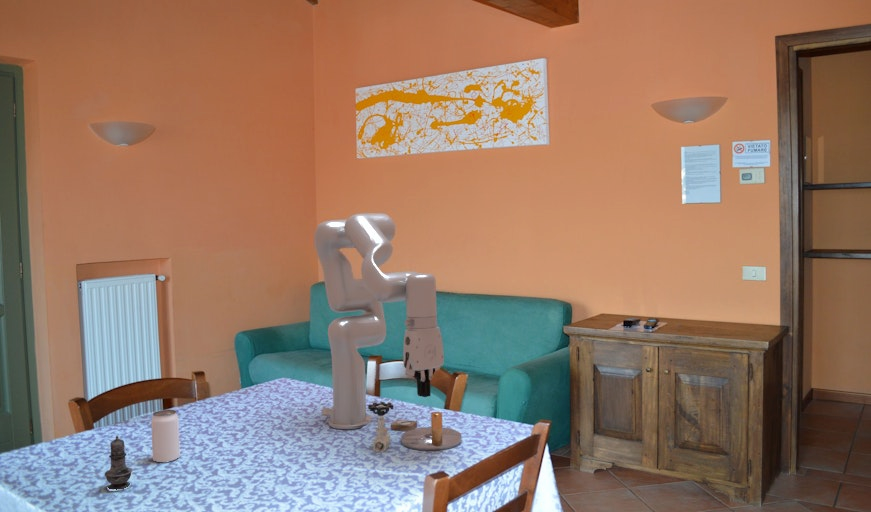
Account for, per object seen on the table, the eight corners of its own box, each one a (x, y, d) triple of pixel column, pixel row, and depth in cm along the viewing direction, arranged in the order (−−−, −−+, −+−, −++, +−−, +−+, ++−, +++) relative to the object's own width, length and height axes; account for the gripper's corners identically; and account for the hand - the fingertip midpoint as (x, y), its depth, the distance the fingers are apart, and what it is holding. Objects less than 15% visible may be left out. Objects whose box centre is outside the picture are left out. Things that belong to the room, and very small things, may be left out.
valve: (396, 446, 189) (395, 401, 189) (392, 454, 183) (391, 408, 182) (371, 446, 190) (370, 401, 189) (366, 454, 183) (365, 408, 183)
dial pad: (391, 432, 201) (390, 423, 201) (397, 427, 206) (397, 418, 206) (411, 434, 199) (411, 425, 199) (417, 429, 204) (416, 420, 204)
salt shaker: (110, 482, 167) (108, 432, 166) (136, 481, 167) (134, 431, 166) (100, 492, 161) (98, 440, 160) (128, 491, 161) (125, 438, 160)
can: (185, 456, 185) (183, 410, 184) (168, 464, 178) (166, 416, 178) (164, 453, 187) (162, 408, 186) (147, 461, 181) (145, 415, 180)
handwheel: (392, 448, 185) (391, 412, 185) (412, 430, 201) (412, 397, 200) (452, 453, 181) (451, 416, 180) (468, 434, 196) (467, 400, 195)
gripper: (408, 327, 171) (411, 404, 172) (453, 320, 181) (455, 392, 182) (389, 325, 176) (391, 399, 177) (433, 318, 187) (435, 388, 187)
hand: (423, 395), depth 180 cm, fingers closed
